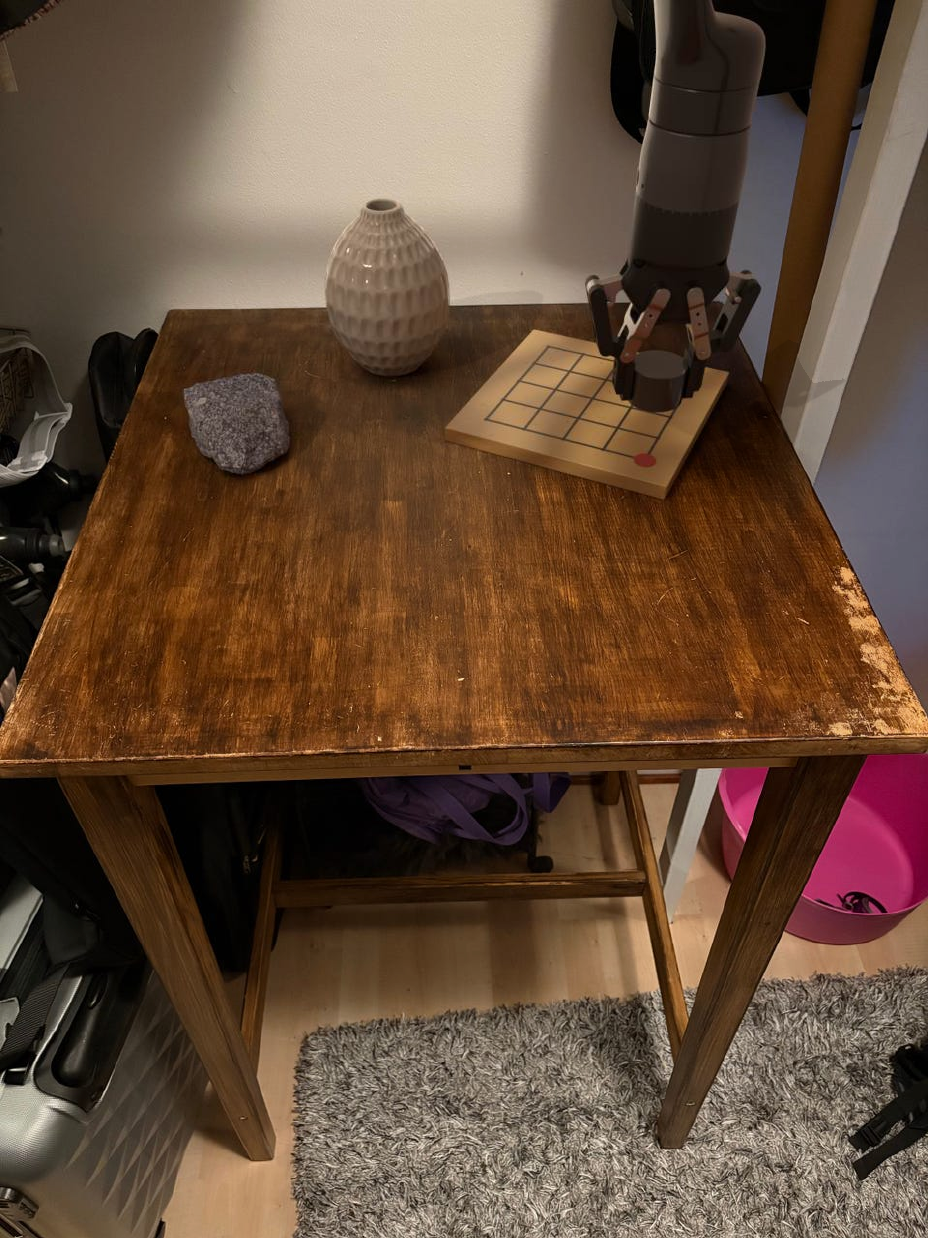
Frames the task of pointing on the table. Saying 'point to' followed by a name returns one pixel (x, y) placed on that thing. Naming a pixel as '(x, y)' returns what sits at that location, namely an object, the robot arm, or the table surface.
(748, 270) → the robot arm
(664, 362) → the dark grey puck
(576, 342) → the board
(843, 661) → the table surface
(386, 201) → the vase
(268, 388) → the rock
